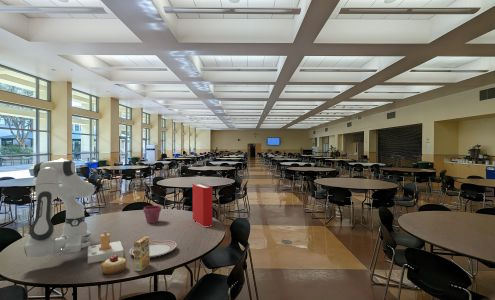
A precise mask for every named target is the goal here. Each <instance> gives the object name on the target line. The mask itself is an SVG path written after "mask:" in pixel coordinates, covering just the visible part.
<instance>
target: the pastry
mask: <svg viewBox="0 0 495 300" xmlns="http://www.w3.org/2000/svg"><path fill="white" fill-rule="evenodd" d="M127 262H128V261H127V259H126V258H125V257H124V256H123V257H119V258H118V256H117V255H113V256H111V257H110V259H107V260H104V261H102V262H101V265H100V268H101V269H100V270H101V271H102V273H104V274H105V275H116V274H119V273H121V272H123V271H124V270H125V268H126V266H127Z"/></svg>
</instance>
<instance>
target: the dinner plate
mask: <svg viewBox="0 0 495 300" xmlns="http://www.w3.org/2000/svg"><path fill="white" fill-rule="evenodd" d="M177 247H178V246H177V243H176V241H173V240H169V239H168V240H167V239H156V240H149V256H150V259H151V258H157V256H158V257H161V255H162V256H164V255H165V254H166V255H167V254H168V253H170V252H173V251H174V250H175V249H176V248H177ZM128 251H129V254H130V255H132V256H134V246H133V247H132V248H130V249H129V250H128Z"/></svg>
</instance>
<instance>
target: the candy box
mask: <svg viewBox="0 0 495 300" xmlns="http://www.w3.org/2000/svg"><path fill="white" fill-rule="evenodd" d="M149 241H150V236H141V237H140V238H138V239H137V240H135V241H134V242H133V247H134V255H133V265H134V266H133V267H134V268H133V270H134V272H142V271H143V270H145V269H146V268H147V267H149V266H150V263H151V261H150V259H151V258H150V256H149Z"/></svg>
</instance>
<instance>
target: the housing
mask: <svg viewBox="0 0 495 300" xmlns="http://www.w3.org/2000/svg"><path fill="white" fill-rule="evenodd" d="M113 255H117V256H118V258H119V257H121V258H122V257H123V258H124V247H123V244H122V242H121V241H120V240H118V241H112V242H111V241H110V249H108V250H102V251H101V243H99V244H94V245H90V246H87V264H94V263H98V262H104V261H106V260H107V259H110V257H111V256H113Z"/></svg>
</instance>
